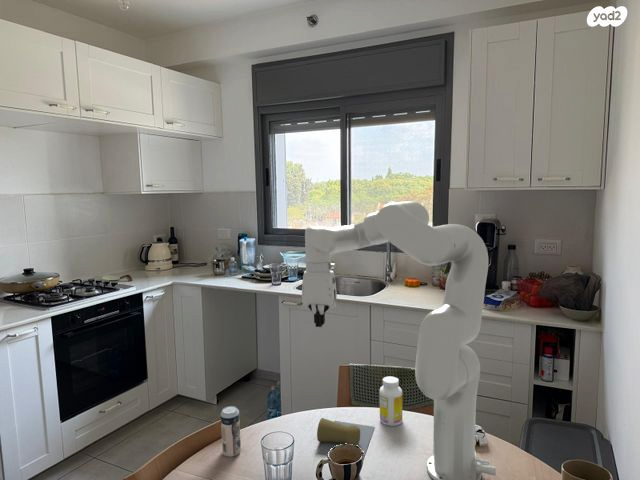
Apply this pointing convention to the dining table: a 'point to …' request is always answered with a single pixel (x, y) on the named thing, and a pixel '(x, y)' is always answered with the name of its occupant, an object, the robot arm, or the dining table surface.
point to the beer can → (230, 431)
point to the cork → (337, 432)
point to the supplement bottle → (390, 402)
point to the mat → (326, 446)
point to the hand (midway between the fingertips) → (319, 325)
